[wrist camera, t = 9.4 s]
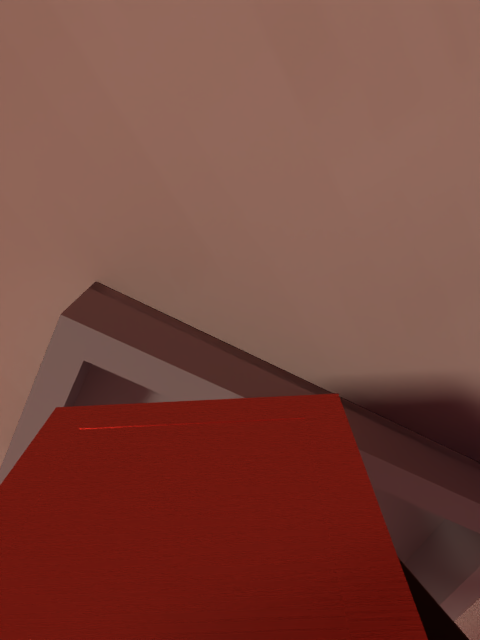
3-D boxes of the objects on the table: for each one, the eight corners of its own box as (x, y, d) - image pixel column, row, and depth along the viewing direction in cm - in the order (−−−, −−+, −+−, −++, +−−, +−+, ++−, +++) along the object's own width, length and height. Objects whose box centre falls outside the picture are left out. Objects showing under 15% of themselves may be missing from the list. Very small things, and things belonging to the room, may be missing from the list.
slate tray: (498, 472, 20) (547, 534, 17) (319, 660, 26) (330, 735, 22) (95, 281, 17) (60, 314, 14) (-13, 545, 22) (-57, 614, 19)
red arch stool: (338, 392, 9) (484, 794, 3) (334, 564, 11) (425, 999, 5) (55, 406, 9) (-232, 804, 4) (100, 571, 11) (-45, 997, 6)
